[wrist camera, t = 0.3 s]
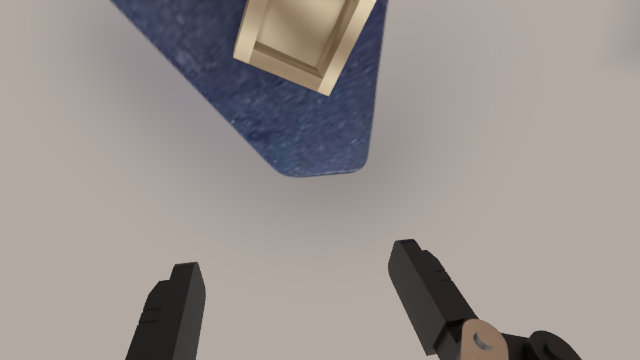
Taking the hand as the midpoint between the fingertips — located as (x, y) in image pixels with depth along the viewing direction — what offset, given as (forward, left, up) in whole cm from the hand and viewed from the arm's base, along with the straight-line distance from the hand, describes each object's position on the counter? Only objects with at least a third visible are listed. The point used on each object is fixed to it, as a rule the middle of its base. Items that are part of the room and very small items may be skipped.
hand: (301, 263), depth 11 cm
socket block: (-6, +1, -22) cm, 23 cm away
